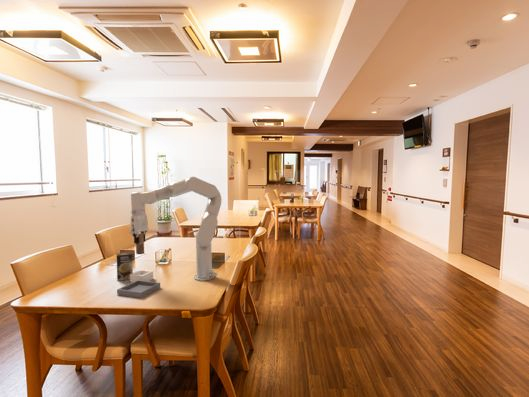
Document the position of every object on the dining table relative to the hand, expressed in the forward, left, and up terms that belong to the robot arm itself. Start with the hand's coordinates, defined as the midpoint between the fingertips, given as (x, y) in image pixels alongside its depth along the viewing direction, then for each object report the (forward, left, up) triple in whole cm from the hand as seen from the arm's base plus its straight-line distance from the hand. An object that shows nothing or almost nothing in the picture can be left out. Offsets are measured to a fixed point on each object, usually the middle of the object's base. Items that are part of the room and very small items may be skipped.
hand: (139, 242), depth 183 cm
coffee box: (+16, -4, -25) cm, 30 cm away
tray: (-8, +11, -25) cm, 29 cm away
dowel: (0, 0, -7) cm, 7 cm away
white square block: (+3, -4, -25) cm, 26 cm away
